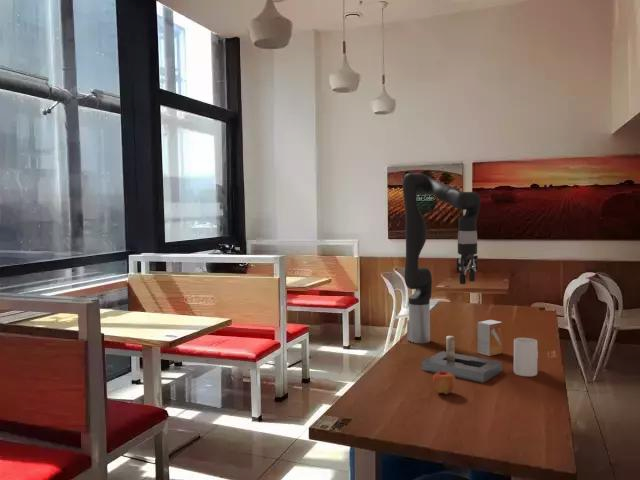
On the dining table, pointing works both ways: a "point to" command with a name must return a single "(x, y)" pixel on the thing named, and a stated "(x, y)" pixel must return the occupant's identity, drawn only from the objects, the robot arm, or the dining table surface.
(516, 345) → the mug
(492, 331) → the small box
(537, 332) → the dining table surface
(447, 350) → the stud
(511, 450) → the dining table surface
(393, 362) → the dining table surface
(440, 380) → the apple
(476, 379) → the keyhole plate
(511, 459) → the dining table surface
